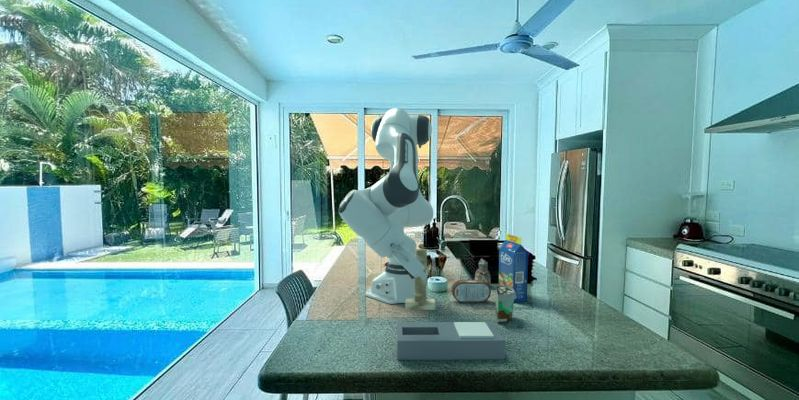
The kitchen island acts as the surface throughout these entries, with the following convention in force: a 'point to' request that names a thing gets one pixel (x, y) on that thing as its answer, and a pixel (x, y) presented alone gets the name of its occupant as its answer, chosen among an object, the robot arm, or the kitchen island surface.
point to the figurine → (483, 272)
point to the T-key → (420, 288)
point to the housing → (449, 341)
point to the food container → (504, 303)
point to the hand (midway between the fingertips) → (422, 275)
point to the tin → (471, 291)
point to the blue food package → (514, 267)
